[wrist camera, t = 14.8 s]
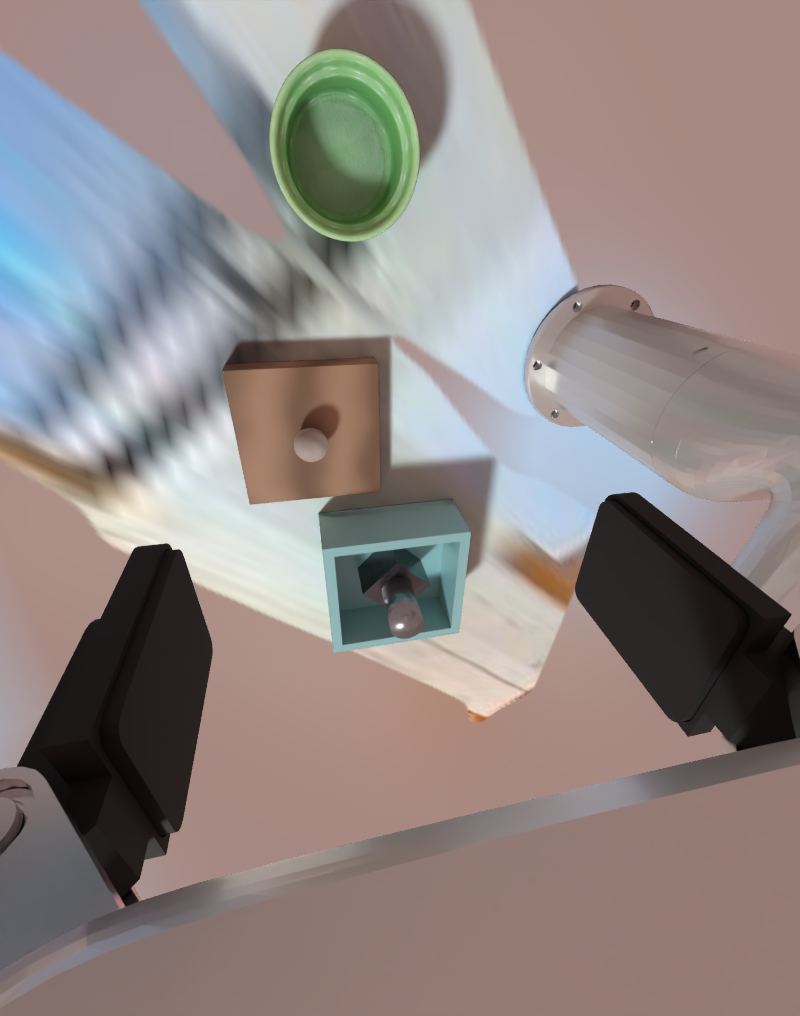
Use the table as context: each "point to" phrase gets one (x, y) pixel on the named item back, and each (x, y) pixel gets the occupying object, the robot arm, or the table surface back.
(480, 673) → the table surface
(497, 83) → the table surface
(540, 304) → the table surface
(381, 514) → the bin
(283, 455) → the stud plate
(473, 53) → the table surface
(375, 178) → the ramekin
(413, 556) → the square base knob
